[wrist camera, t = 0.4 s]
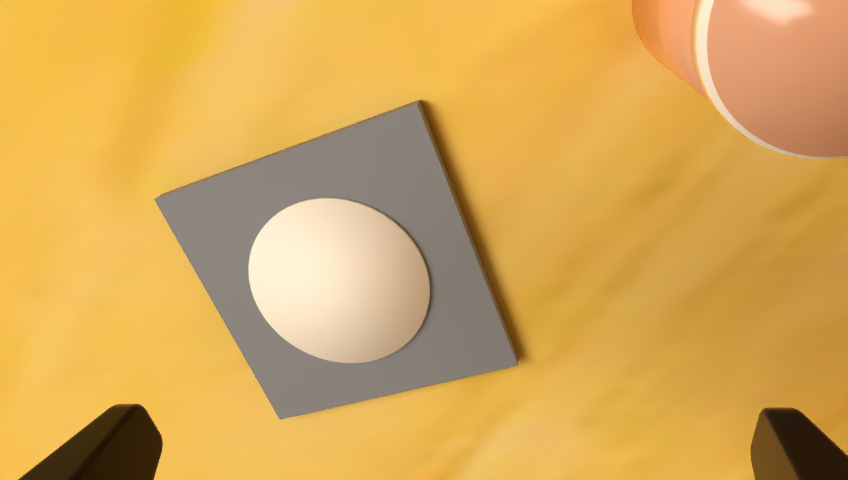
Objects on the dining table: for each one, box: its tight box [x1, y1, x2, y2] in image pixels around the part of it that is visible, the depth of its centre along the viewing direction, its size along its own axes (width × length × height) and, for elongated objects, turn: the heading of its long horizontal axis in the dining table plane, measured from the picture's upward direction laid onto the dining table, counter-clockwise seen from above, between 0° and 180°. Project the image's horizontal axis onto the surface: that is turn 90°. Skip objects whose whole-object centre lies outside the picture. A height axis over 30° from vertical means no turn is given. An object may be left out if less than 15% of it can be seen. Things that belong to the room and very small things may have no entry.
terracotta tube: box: [632, 0, 848, 159], centre depth 15 cm, size 5×5×9 cm
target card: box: [154, 100, 518, 419], centre depth 24 cm, size 11×11×1 cm
